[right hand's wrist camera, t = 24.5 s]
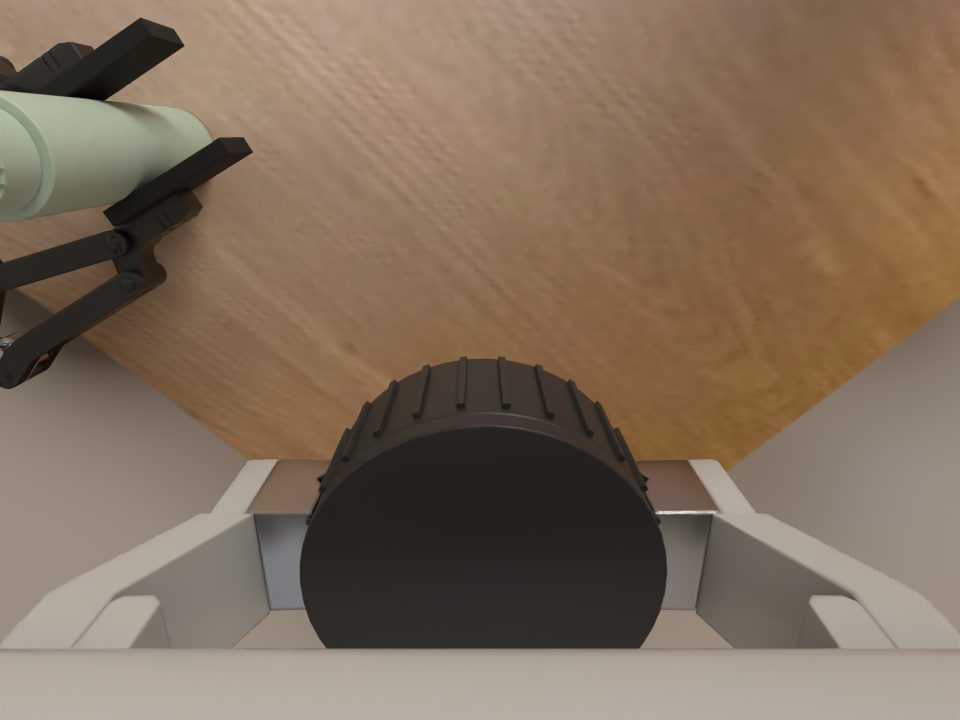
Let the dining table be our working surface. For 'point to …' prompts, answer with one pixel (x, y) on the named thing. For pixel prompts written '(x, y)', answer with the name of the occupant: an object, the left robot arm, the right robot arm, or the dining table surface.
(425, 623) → the lid
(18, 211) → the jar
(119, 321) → the dining table surface
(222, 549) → the right robot arm
